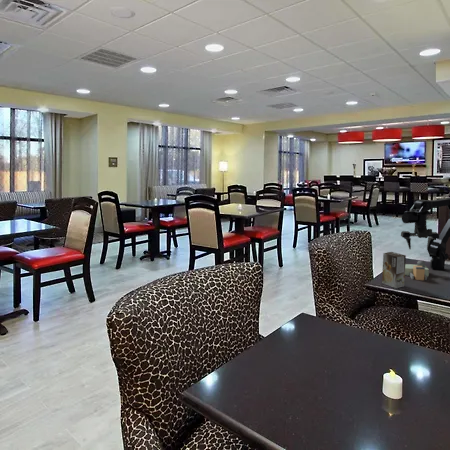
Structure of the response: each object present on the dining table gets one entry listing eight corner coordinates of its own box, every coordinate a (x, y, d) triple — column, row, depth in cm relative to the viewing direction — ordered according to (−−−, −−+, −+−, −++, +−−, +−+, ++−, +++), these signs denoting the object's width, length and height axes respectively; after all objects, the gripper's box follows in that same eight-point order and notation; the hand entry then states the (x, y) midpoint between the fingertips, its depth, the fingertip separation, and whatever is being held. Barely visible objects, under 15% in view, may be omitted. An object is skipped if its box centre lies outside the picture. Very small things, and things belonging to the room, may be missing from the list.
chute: (420, 276, 210) (421, 264, 208) (423, 280, 203) (424, 267, 202) (412, 276, 210) (413, 264, 209) (415, 280, 204) (416, 267, 203)
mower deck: (424, 271, 218) (425, 260, 217) (432, 280, 202) (433, 268, 201) (401, 270, 220) (401, 259, 219) (407, 279, 205) (407, 267, 204)
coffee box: (404, 286, 193) (406, 255, 191) (395, 288, 191) (397, 256, 188) (390, 281, 202) (391, 251, 199) (381, 283, 199) (382, 252, 196)
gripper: (405, 224, 211) (403, 252, 213) (443, 225, 206) (441, 253, 209) (401, 221, 221) (399, 248, 224) (437, 222, 217) (435, 249, 219)
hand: (418, 249), depth 219 cm, fingers open, 9 cm apart
